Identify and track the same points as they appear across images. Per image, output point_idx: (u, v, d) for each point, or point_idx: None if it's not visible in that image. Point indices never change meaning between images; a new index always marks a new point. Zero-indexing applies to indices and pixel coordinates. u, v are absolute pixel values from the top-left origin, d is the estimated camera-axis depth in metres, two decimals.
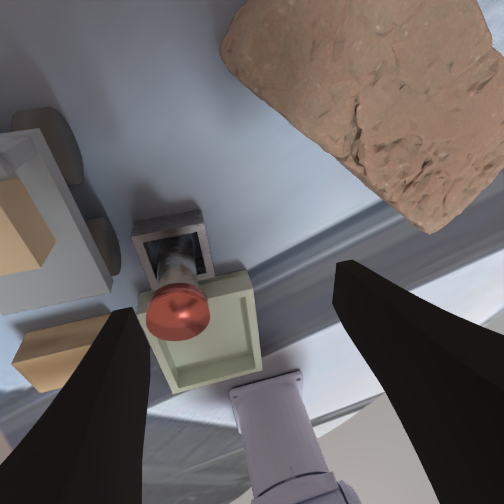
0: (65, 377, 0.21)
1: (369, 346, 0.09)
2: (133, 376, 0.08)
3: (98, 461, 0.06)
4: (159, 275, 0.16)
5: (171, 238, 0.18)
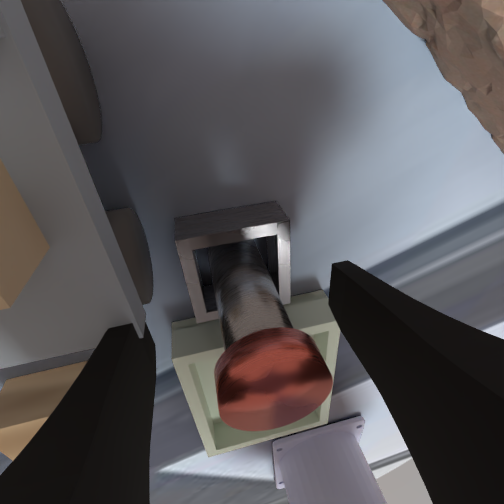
0: None
1: (364, 347, 0.09)
2: (140, 374, 0.08)
3: (108, 458, 0.06)
4: (226, 307, 0.09)
5: (233, 244, 0.12)
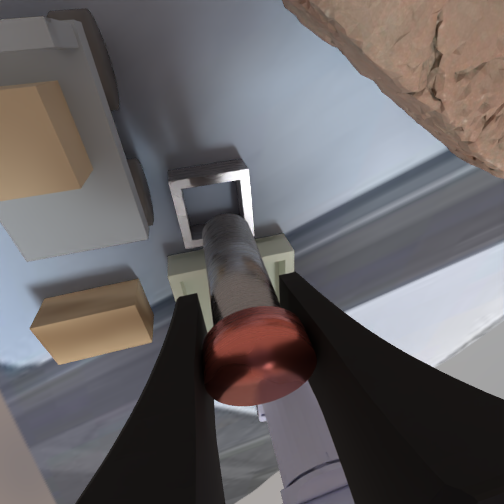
0: (87, 347, 0.19)
1: None
2: None
3: (203, 432, 0.06)
4: (216, 287, 0.09)
5: (226, 227, 0.12)
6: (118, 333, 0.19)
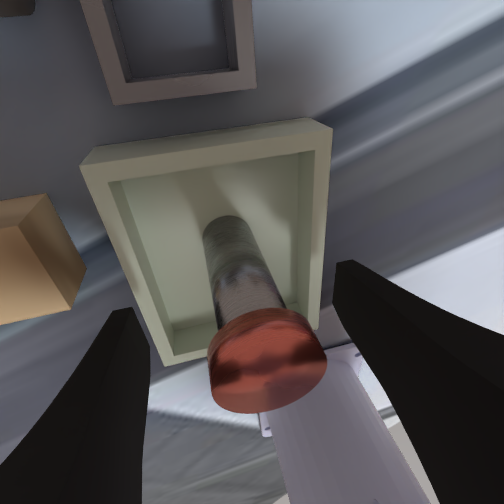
0: None
1: (369, 346, 0.09)
2: (133, 376, 0.08)
3: (98, 461, 0.06)
4: (220, 290, 0.09)
5: (227, 229, 0.11)
6: None
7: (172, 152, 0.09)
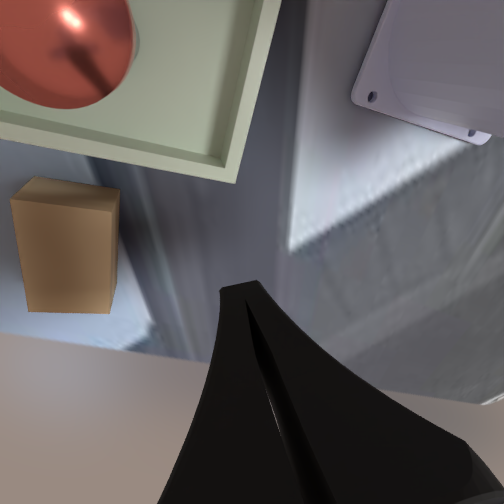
0: (88, 280, 0.14)
1: (263, 374, 0.09)
2: None
3: None
4: None
5: None
6: (72, 241, 0.13)
7: None
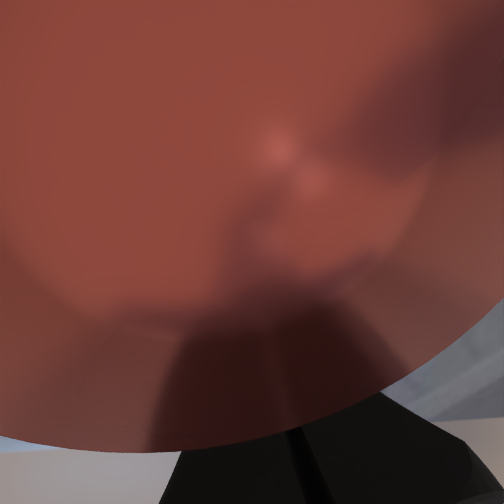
0: None
1: None
2: None
3: None
4: None
5: None
6: None
7: None
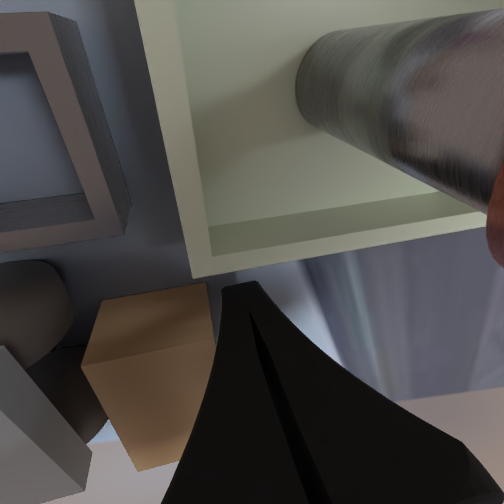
0: None
1: None
2: None
3: None
4: (410, 171, 0.04)
5: (313, 94, 0.06)
6: (170, 387, 0.09)
7: (172, 180, 0.06)
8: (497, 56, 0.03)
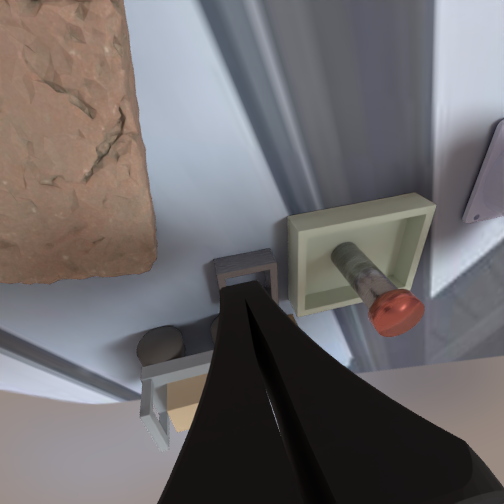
0: None
1: (263, 373, 0.09)
2: None
3: None
4: None
5: (337, 265, 0.22)
6: None
7: (297, 291, 0.22)
8: (371, 291, 0.18)
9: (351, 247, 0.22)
